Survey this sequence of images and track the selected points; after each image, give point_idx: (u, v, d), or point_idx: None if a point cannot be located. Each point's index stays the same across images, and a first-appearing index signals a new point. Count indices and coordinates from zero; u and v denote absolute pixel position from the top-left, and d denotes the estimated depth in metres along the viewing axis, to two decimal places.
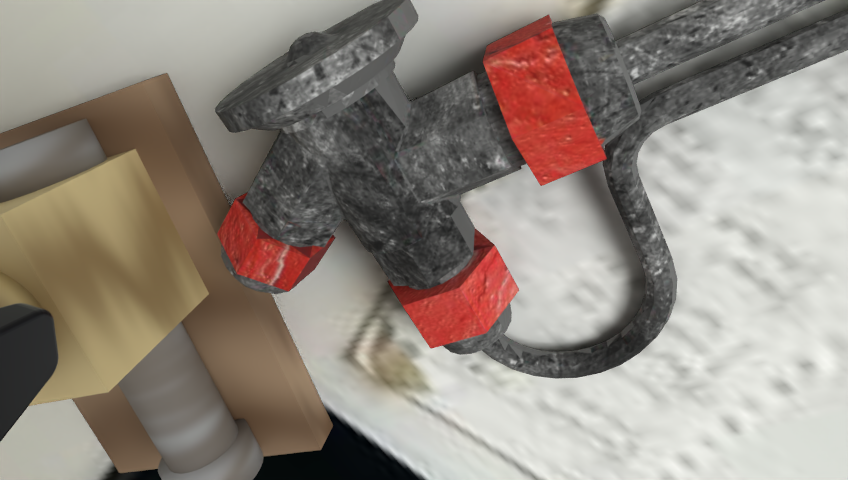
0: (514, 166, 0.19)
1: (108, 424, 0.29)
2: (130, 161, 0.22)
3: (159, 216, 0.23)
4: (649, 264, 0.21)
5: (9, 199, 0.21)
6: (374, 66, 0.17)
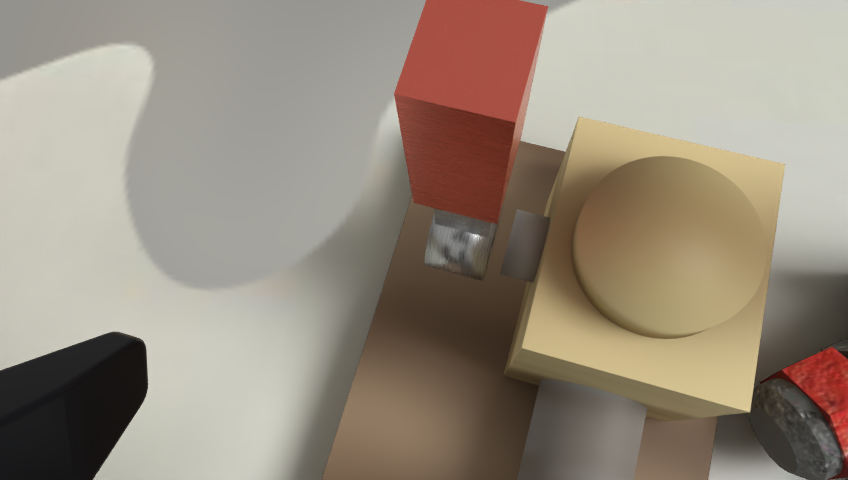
0: None
1: None
2: None
3: None
4: None
5: None
6: None
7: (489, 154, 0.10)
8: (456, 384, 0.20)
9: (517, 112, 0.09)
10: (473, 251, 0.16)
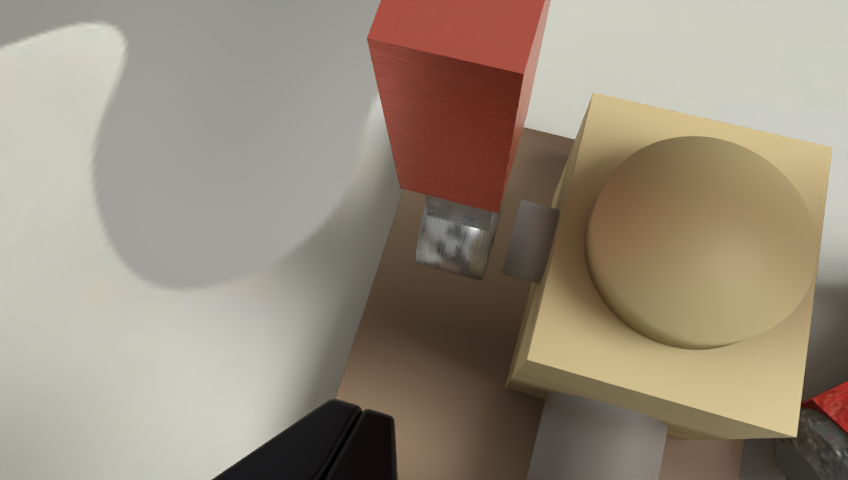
0: None
1: None
2: None
3: None
4: None
5: None
6: None
7: (490, 121, 0.08)
8: (452, 397, 0.18)
9: (526, 61, 0.07)
10: (471, 247, 0.14)
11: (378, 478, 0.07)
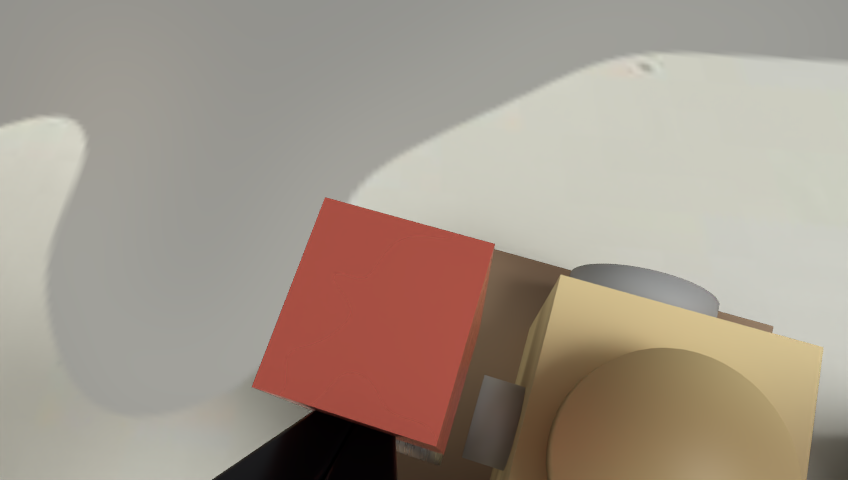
0: None
1: None
2: None
3: None
4: None
5: None
6: None
7: (411, 440, 0.07)
8: None
9: (439, 429, 0.06)
10: None
11: (378, 478, 0.07)
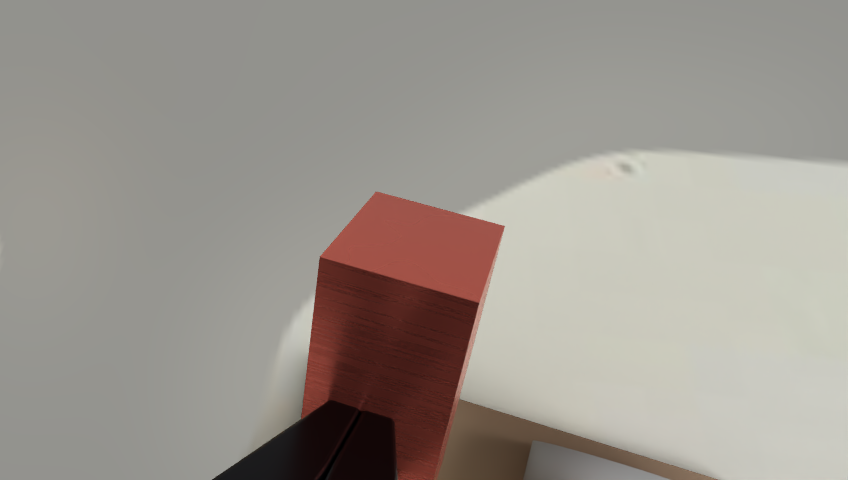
0: None
1: None
2: None
3: None
4: None
5: None
6: None
7: (430, 383, 0.07)
8: None
9: (480, 294, 0.07)
10: None
11: (379, 478, 0.07)
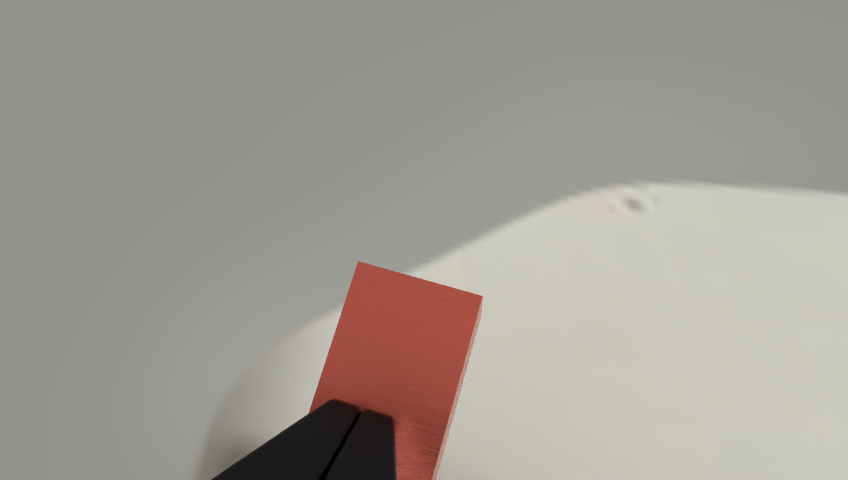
0: None
1: None
2: None
3: None
4: None
5: None
6: None
7: (435, 377, 0.09)
8: None
9: (482, 296, 0.09)
10: None
11: (378, 478, 0.07)
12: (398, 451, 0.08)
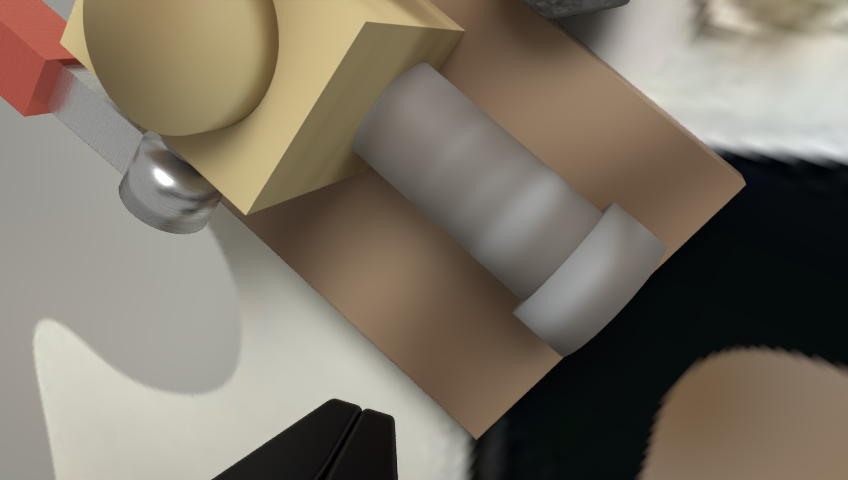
0: None
1: (431, 358, 0.20)
2: None
3: None
4: None
5: None
6: None
7: None
8: (360, 216, 0.20)
9: None
10: (136, 152, 0.16)
11: (378, 478, 0.07)
12: None
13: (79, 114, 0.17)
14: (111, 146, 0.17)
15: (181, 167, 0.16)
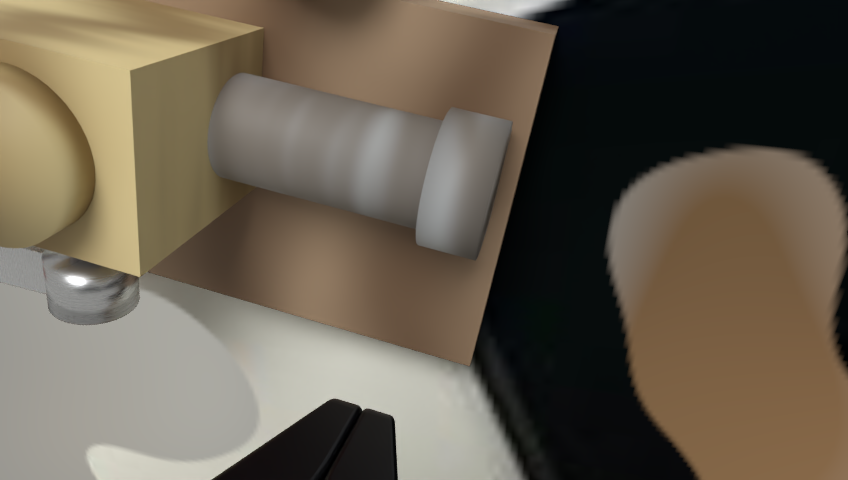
0: None
1: (395, 317, 0.22)
2: None
3: (141, 4, 0.18)
4: None
5: None
6: None
7: None
8: (273, 228, 0.21)
9: None
10: (43, 271, 0.18)
11: (378, 478, 0.07)
12: None
13: None
14: (25, 276, 0.18)
15: (85, 264, 0.18)
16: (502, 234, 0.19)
